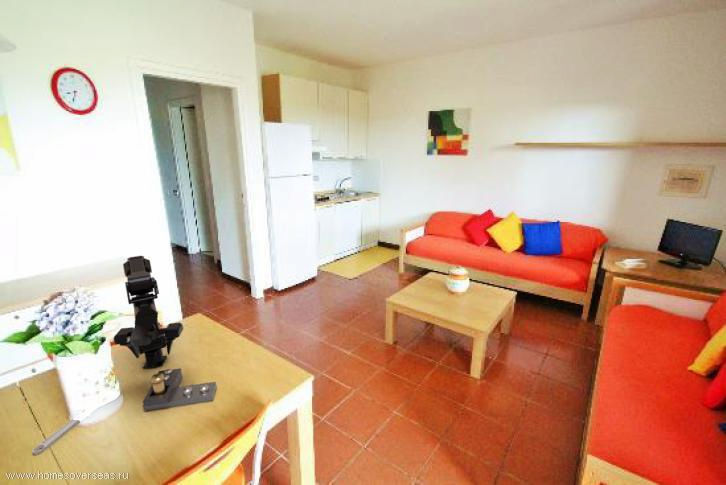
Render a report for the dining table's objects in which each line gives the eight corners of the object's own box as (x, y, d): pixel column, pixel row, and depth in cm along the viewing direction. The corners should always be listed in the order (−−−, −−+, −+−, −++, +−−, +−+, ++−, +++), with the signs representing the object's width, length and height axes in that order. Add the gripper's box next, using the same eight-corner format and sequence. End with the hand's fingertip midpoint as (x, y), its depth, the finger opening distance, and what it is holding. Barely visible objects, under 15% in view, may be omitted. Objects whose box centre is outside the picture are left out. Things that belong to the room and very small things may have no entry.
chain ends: (159, 381, 120) (157, 369, 119) (220, 373, 124) (218, 361, 123) (143, 412, 106) (140, 399, 105) (212, 401, 110) (210, 389, 109)
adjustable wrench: (38, 458, 91) (37, 452, 90) (21, 452, 93) (19, 447, 92) (124, 394, 114) (123, 389, 114) (109, 390, 116) (108, 386, 115)
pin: (156, 398, 112) (152, 374, 109) (170, 396, 113) (166, 372, 110) (152, 406, 108) (147, 382, 106) (166, 404, 109) (161, 380, 107)
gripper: (100, 329, 100) (110, 374, 104) (170, 322, 104) (177, 366, 108) (117, 311, 111) (126, 354, 115) (180, 306, 115) (186, 347, 119)
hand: (153, 355), depth 114 cm, fingers open, 9 cm apart
